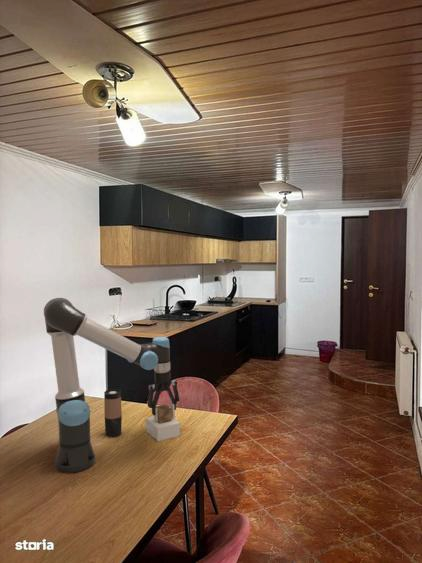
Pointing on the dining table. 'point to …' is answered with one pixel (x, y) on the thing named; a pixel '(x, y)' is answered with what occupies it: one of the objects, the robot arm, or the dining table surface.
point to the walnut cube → (164, 414)
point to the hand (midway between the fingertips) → (164, 419)
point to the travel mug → (112, 412)
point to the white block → (162, 429)
